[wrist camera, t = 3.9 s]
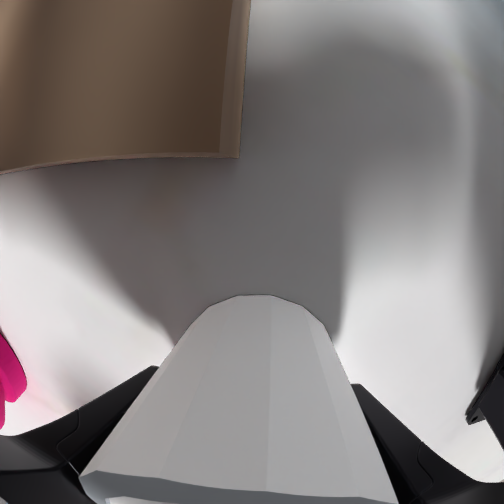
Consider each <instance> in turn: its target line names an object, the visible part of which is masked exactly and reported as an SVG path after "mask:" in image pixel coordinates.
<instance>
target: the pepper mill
mask: <svg viewBox="0 0 504 504" xmlns="http://www.w3.org/2000/svg"><path fill="white" fill-rule="evenodd" d="M26 387H27V382H26V377H25V374H24V372H23V369H22V367H21V365H20V363H19V361H18V359H17V358H16V356H15V354H14V352H13V351H12V349H11V348H10V346H9V345H8V343H7V342H6V340H5V339H4V338H3V336H2V335H1V334H0V429H1V428H2V427H3V425H4V422H5V400H6V401H8V402H15V401H16V400H17V399H18V398H19V397H20V395H21V394H22V393H23V392H24V391H25V390H26Z"/></svg>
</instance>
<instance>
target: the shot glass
mask: <svg viewBox="0 0 504 504" xmlns="http://www.w3.org/2000/svg"><path fill="white" fill-rule="evenodd" d="M79 480H80V482H81V484H82V486H83V489H84V491H85V493H86V494H87V495H88V496H89V497H90V498H91V499H92V500H93V501H94V502H96V503H97V504H399V503H398V500H397V497H396V495H395V492H394V489H393V487H392V484H391V482H390V479H389V476H388V474H387V471H386V469H385V466H384V463H383V461H382V458H381V456H380V453H379V451H378V448H377V446H376V443H375V441H374V439H373V436H372V434H371V431H370V429H369V426H368V424H367V422H366V419H365V417H364V414H363V412H362V410H361V407H360V405H359V403H358V400H357V398H356V396H355V393H354V391H353V389H352V386H351V384H350V382H349V380H348V377H347V375H346V373H345V371H344V368H343V366H342V364H341V362H340V359H339V357H338V355H337V353H336V350H335V348H334V346H333V344H332V342H331V339H330V337H329V335H328V333H327V331H326V329H325V326H324V325H323V324H322V323H321V322H320V321H319V320H318V319H316V318H315V317H314V316H313V315H312V314H311V313H310V312H308V311H307V310H306V309H305V308H304V307H303V306H301V305H298V304H295V303H292V302H289V301H286V300H283V299H281V298H278V297H275V296H272V295H250V296H235V297H233V298H230V299H227V300H225V301H222V302H220V303H217V304H214V305H212V306H209V307H208V308H207V309H206V310H205V311H204V312H203V313H202V314H201V315H200V316H199V317H198V318H197V319H196V320H195V321H194V322H193V323H192V324H191V325H190V326H189V328H188V329H187V330H186V332H185V333H184V334H183V336H182V337H181V338H180V340H179V341H178V343H177V344H176V345H175V347H174V348H173V349H172V351H171V352H170V353H169V355H168V356H167V357H166V359H165V360H164V361H163V363H162V364H161V365H160V367H159V368H158V370H157V371H156V372H155V374H154V375H153V376H152V378H151V379H150V380H149V382H148V383H147V384H146V386H145V387H144V389H143V390H142V391H141V393H140V394H139V395H138V397H137V398H136V399H135V401H134V402H133V403H132V405H131V406H130V408H129V409H128V410H127V412H126V413H125V414H124V416H123V417H122V418H121V420H120V421H119V423H118V424H117V425H116V427H115V428H114V429H113V431H112V432H111V434H110V435H109V436H108V438H107V439H106V440H105V442H104V443H103V444H102V446H101V447H100V449H99V450H98V451H97V453H96V454H95V455H94V457H93V458H92V460H91V461H90V462H89V464H88V465H87V467H86V468H85V469H84V471H83V472H82V473H81V475H80V476H79Z"/></svg>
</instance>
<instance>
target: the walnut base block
mask: <svg viewBox="0 0 504 504" xmlns="http://www.w3.org/2000/svg"><path fill="white" fill-rule="evenodd" d="M250 5H251V0H0V174H6V173H11V172H16V171H22V170H28V169H34V168H41V167H48V166H55V165H63V164H71V163H81V162H91V161H103V160H117V159H134V158H162V157H213V158H239V153H240V136H241V121H242V106H243V91H244V77H245V64H246V51H247V39H248V27H249V16H250Z"/></svg>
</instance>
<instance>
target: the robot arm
mask: <svg viewBox="0 0 504 504" xmlns="http://www.w3.org/2000/svg"><path fill="white" fill-rule="evenodd" d="M158 368H159V367H158V366H150V367H148V368H146V369H145V370H143V371H142V372H140V373H138V374H137V375H135V376H133V377H132V378H130V379H128V380H127V381H125V382H123V383H122V384H120V385H118V386H117V387H115V388H113V389H112V390H110V391H108V392H106V393H105V394H103V395H101V396H100V397H98V398H96V399H94V400H93V401H91V402H89V403H87V404H86V405H84V406H82V407H80V408H79V410H78V409H77V410H75V411H73V412H71V413H69V414H67V415H66V416H64V417H62V418H60V419H58V420H55V421H53V422H51V423H48V424H46V425H44V426H41V427H38V428H36V429H33V430H31V431H28V432H25V433H23V434H19V435H15V436H4V435H0V504H97V503H96V502H94V501H93V500H92V499H91V498H90V497H89V496H88V495H87V494H86V493H85V491H84V489H83V486H82V484H81V482H80V480H79V476H80V475H81V473H82V472H83V471H84V469H85V468H86V467H87V465H88V464H89V462H90V461H91V460H92V458H93V457H94V455H95V454H96V453H97V451H98V450H99V449H100V447H101V446H102V444H103V443H104V442H105V440H106V439H107V438H108V436H109V435H110V434H111V432H112V431H113V429H114V428H115V427H116V425H117V424H118V423H119V421H120V420H121V418H122V417H123V416H124V414H125V413H126V412H127V410H128V409H129V408H130V406H131V405H132V403H133V402H134V401H135V399H136V398H137V397H138V395H139V394H140V393H141V391H142V390H143V389H144V387H145V386H146V384H147V383H148V382H149V380H150V379H151V378H152V376H153V375H154V374H155V372H156V371H157V370H158ZM351 386H352V389H353V391H354V393H355V396H356V398H357V400H358V403H359V405H360V407H361V410H362V412H363V414H364V417H365V419H366V422H367V424H368V426H369V429H370V431H371V434H372V436H373V439H374V441H375V443H376V446H377V448H378V451H379V453H380V456H381V458H382V461H383V463H384V466H385V469H386V471H387V474H388V476H389V479H390V482H391V484H392V487H393V489H394V492H395V495H396V497H397V500H398V503H399V504H504V482H501V483H485V482H479V481H476V480H474V479H472V478H470V477H469V476H467V475H466V474H464V473H463V472H461V471H460V470H458V469H457V468H455V467H454V466H452V465H451V464H450V463H448V462H447V461H445V460H444V459H443V458H441V457H440V456H439V455H437V454H436V453H435V452H434V451H433V450H431V449H430V448H429V447H428V446H427V445H426V444H425V443H424V442H421V440H420V439H419V438H418V437H417V436H416V435H415V434H414V433H412V432H411V431H410V430H409V429H408V428H407V427H406V426H405V425H404V424H403V423H402V422H401V421H399V420H398V419H397V418H396V417H395V416H394V415H393V414H392V413H391V412H390V411H389V410H388V409H386V408H385V407H384V406H383V405H382V404H381V403H380V402H379V401H378V400H377V399H376V398H375V397H374V396H373V395H372V394H370V393H369V392H368V391H367V390H366V389H365V388H364V387H363V386H362V385H361V384H351ZM485 419H486V421H487V422H488V424H489V426H490V428H491V429H492V431H493V433H494V434H495V436H496V438H497V440H498V441H499V443H500V445H501V447H502V449H503V451H504V354H503V356H502V358H501V360H500V362H499V364H498V366H497V368H496V370H495V372H494V373H493V375H492V377H491V379H490V381H489V382H488V384H487V386H486V388H485V389H484V391H483V393H482V394H481V396H480V397H479V399H478V401H477V402H476V404H475V405H474V407H473V408H472V410H471V411H470V413H469V414H468V416H467V417H466V421H467V423H468V424H469V425H471V424H474V423H477V422H480V421H482V420H485Z"/></svg>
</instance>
